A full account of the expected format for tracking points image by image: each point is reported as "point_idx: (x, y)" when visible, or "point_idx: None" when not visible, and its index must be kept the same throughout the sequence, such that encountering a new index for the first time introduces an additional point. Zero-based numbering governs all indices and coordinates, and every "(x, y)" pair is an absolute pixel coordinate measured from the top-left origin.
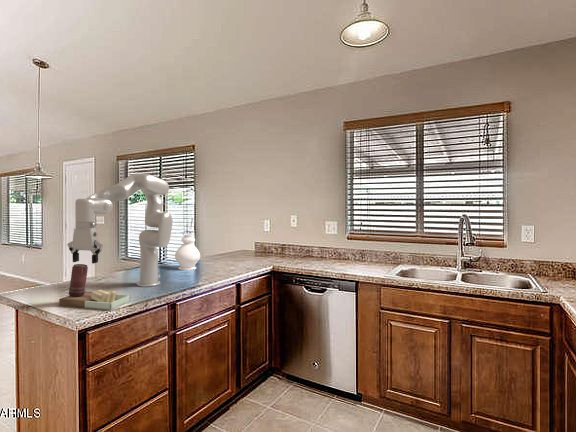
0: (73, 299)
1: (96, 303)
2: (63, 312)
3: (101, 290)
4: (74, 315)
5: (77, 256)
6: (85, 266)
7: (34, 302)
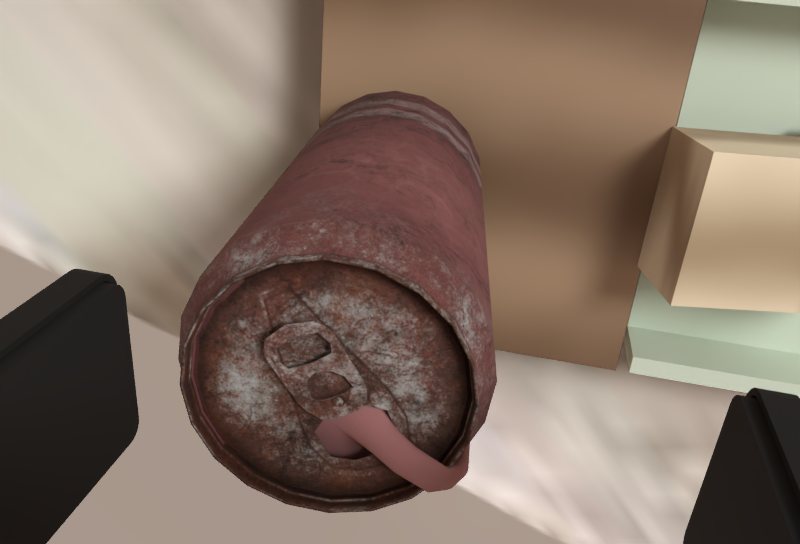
0: None
1: (781, 391)
2: (505, 455)
3: (747, 170)
4: (646, 520)
5: (35, 421)
6: (433, 351)
7: (50, 212)
